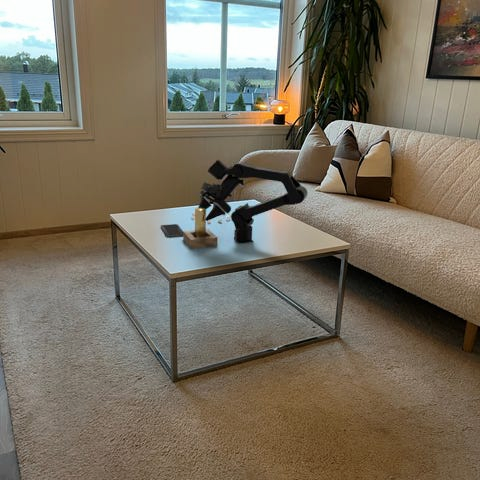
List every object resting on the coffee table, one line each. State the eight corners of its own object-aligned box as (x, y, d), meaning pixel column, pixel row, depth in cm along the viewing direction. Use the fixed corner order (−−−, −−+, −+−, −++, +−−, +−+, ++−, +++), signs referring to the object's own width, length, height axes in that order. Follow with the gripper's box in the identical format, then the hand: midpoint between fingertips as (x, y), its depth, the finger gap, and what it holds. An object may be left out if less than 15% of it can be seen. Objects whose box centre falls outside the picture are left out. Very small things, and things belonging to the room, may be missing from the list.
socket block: (208, 236, 198) (208, 229, 197) (217, 245, 189) (217, 237, 188) (183, 239, 194) (183, 231, 193) (191, 248, 185) (191, 240, 184)
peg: (203, 240, 194) (204, 207, 190) (207, 243, 191) (207, 210, 186) (193, 241, 193) (193, 208, 188) (196, 244, 189) (197, 211, 184)
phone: (167, 235, 196) (160, 225, 209) (167, 238, 196) (160, 227, 209) (185, 234, 198) (177, 223, 211) (185, 236, 199) (177, 226, 212)
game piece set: (187, 213, 232) (187, 205, 230) (226, 211, 237) (226, 204, 236) (194, 225, 214) (194, 217, 213) (236, 223, 219) (236, 215, 218)
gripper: (204, 170, 192) (179, 198, 191) (224, 179, 177) (197, 210, 176) (220, 187, 199) (196, 215, 197) (242, 198, 183) (216, 228, 182)
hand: (201, 217), depth 188 cm, fingers open, 9 cm apart
